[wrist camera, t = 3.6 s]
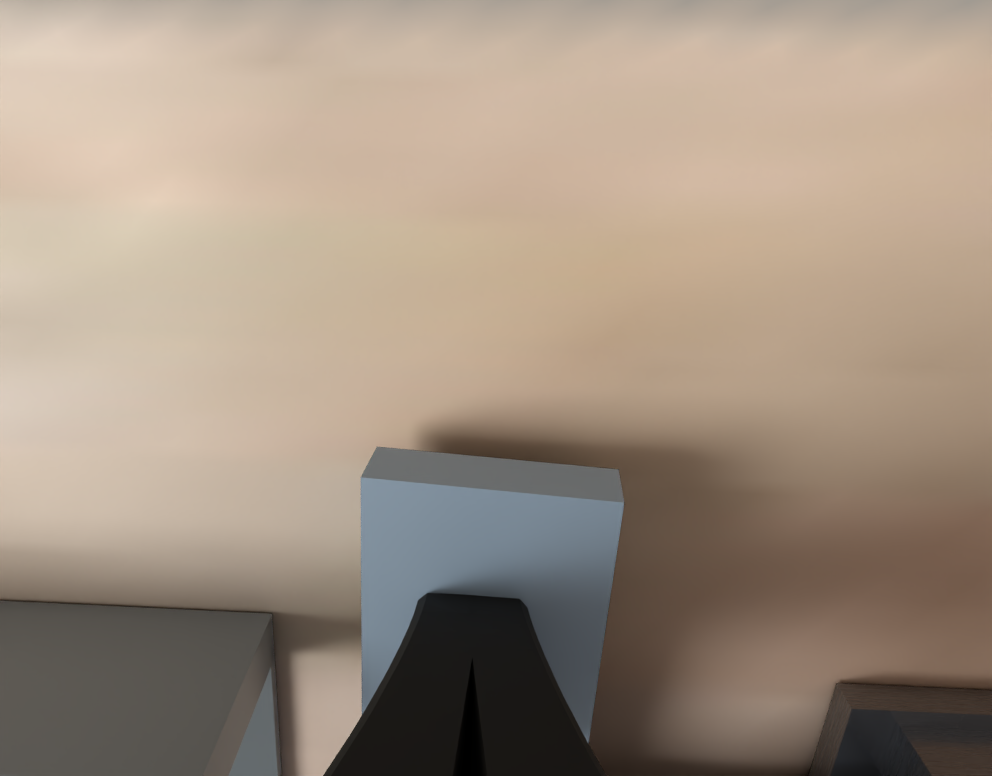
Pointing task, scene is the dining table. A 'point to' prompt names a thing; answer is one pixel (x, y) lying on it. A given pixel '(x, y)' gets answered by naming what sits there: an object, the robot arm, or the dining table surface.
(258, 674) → the dish
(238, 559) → the dining table surface
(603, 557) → the blue-grey piece
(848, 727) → the stand
